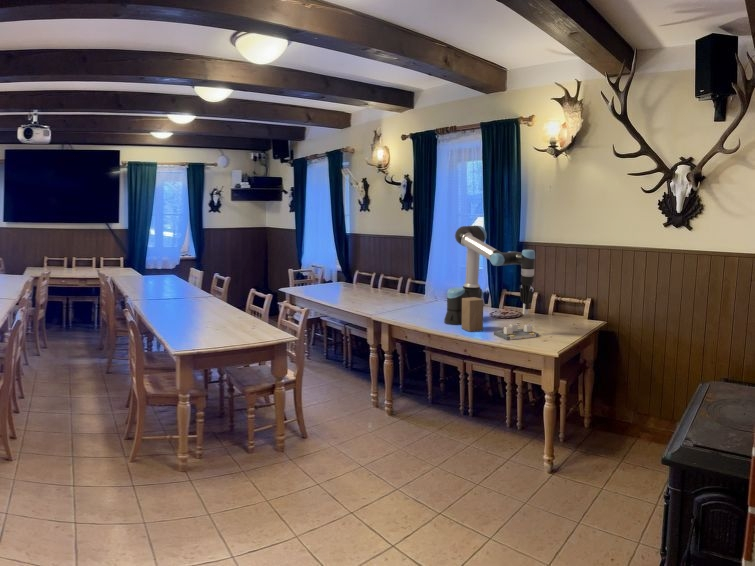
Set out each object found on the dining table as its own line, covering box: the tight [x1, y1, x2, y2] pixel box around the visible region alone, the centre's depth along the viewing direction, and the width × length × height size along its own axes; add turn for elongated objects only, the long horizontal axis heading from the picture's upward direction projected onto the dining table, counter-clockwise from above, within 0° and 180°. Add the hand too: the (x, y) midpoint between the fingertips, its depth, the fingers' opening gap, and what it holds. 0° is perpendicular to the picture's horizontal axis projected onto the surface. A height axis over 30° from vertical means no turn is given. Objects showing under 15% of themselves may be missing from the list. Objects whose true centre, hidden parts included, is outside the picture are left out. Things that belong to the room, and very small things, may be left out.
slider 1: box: [503, 325, 513, 335], centre depth 304 cm, size 3×4×4 cm
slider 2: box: [508, 323, 519, 332], centre depth 311 cm, size 3×4×4 cm
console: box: [493, 328, 539, 341], centre depth 309 cm, size 14×22×2 cm, turn 110°
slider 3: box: [523, 323, 533, 332], centre depth 308 cm, size 3×4×4 cm
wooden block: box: [461, 297, 484, 333], centre depth 324 cm, size 10×10×20 cm
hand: (525, 313), depth 311 cm, fingers closed
